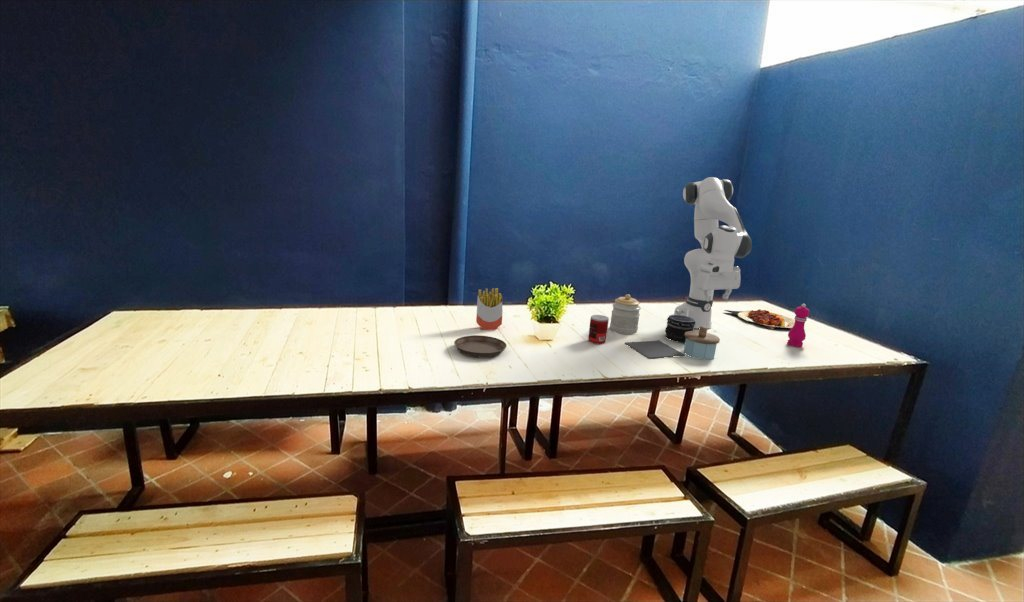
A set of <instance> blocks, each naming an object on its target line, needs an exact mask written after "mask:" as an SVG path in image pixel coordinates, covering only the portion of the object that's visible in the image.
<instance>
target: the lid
mask: <svg viewBox="0 0 1024 602" xmlns="http://www.w3.org/2000/svg"><path fill="white" fill-rule="evenodd" d="M684 336H685V338H687V339H688V340H691V341H694V342H697V343H702V344H719V343H720V340H721V339H720V337H719V336H717V335H716V334H713V333H710V332H708V329H707V327H705V326H700V329H698V330H693V331H687V332H685V335H684Z"/></svg>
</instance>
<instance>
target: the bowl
mask: <svg viewBox="0 0 1024 602" xmlns="http://www.w3.org/2000/svg"><path fill="white" fill-rule="evenodd" d="M717 344H718V343H717ZM717 344H702V343H697V342H694V341H691V340H688V339H687V338H686V340H685V342H684V348H683V352H684V353H683V354H685V353H686V354H687V356H688V355H689V356H688V357H690V356H691V357H690V358H693V357H694V359H698V358H699V359H698V360H703V359H707V360H714V359H715V357H716V356H715V355H716V351H717ZM686 354H685V355H686Z"/></svg>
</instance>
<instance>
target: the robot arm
mask: <svg viewBox="0 0 1024 602" xmlns="http://www.w3.org/2000/svg"><path fill="white" fill-rule="evenodd" d="M682 190H683V192H682V196H683V199H684V202H685V204H687V205H689V206H690V205H691V206H694V214H693V215H694V217H693V224H694V225H693V228H694V229H693V230H694V238H695V239H696V240H697V241H698V242H699V244H700V246H701V248H696V249H692V250H689V251H688V252H686V254H685V256H684V258H683V263H684V266H685V267H686V269H687V270H688V272H689V274H690V288H689V295H688V296H687V295H685V296H684V297H685V298H686V300H685V302H683V303H682V304H680V305H678V306H676V307H675V309H674V312H673V314H672V315H681V316H687V317H690V318H692V319H694V320H695V322H696V324H695V325H694V329H698V328H700V326H705V327H707V330H708V328H709V329H711V328H712V325H711V324H712V313H713V312H712V307H713V305H714V300H713V298H714V291H715V290H724V291H725V292H724V294H722V300H724V301H726V300H729V296H730V295H731V293H732V291H733V290H735V289H736V290H738V289H739V288H740V286H741V279H742V278H741V268H740V266H738V265H737V266H736V265H735V266H734V264H735V258H738V259H739V258H740V259H743V258H745V257H746V256H747V255H749V254H750V253H751V252H752V248H753V242H752V238H751V236H750V235H749V234H748V232H747V229H746V228H745V225H744V223H743V221H742V217H741V216H740V214H739V212H738V210H737V208H736V207H735V206H733V205H732V204H731V203H730V202H729V201H730V200H731V199H732V196H733V193H734V187H733V184H732V181H731V180H729V179H725V178H723V179H719V178H718V177H714V176H711V177H710V176H709V177H706V178H704V179H703V180H700V181H695V182H694V181H691V182H688V183H686V184H685V186H684V188H683V189H682ZM719 221H720V222H723V223H725V224H727V225H722V224H721V225H719ZM670 315H671V314H669V315H668V317H669V316H670Z"/></svg>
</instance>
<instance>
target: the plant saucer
mask: <svg viewBox="0 0 1024 602" xmlns="http://www.w3.org/2000/svg"><path fill="white" fill-rule="evenodd" d="M453 343H454V344H453V345H454V346H455V348H456V349H457V350H458V351H459V352H460V353H461V354H463V355H465V356H467V357H471V358H478V359H487V358H493V357H496V356H498V355H501V354H502V353H503V352H504V350H505V349H506V348H507V345H508V344H507V343H506V342H505V341H504V340H502V339H500V338H496V337H494V336H488V335H481V334H480V335H479V334H478V335H477V334H476V335H465V336H460V337H458V338H455V340H454V342H453Z"/></svg>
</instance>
